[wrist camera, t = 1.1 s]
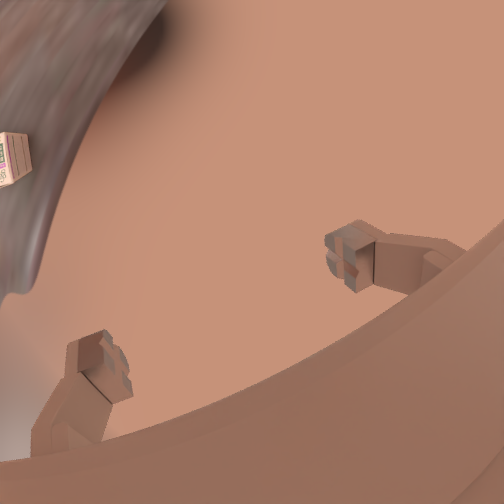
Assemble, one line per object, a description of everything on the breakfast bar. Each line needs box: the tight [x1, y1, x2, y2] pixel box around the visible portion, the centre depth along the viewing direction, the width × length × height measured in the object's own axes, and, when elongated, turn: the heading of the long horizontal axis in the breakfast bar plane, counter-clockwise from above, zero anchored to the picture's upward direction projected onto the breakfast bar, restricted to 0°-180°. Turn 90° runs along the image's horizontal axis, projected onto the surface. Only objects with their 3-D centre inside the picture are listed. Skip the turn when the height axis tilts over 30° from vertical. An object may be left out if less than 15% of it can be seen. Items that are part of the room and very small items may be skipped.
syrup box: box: [0, 132, 32, 188], centre depth 26 cm, size 6×6×14 cm
